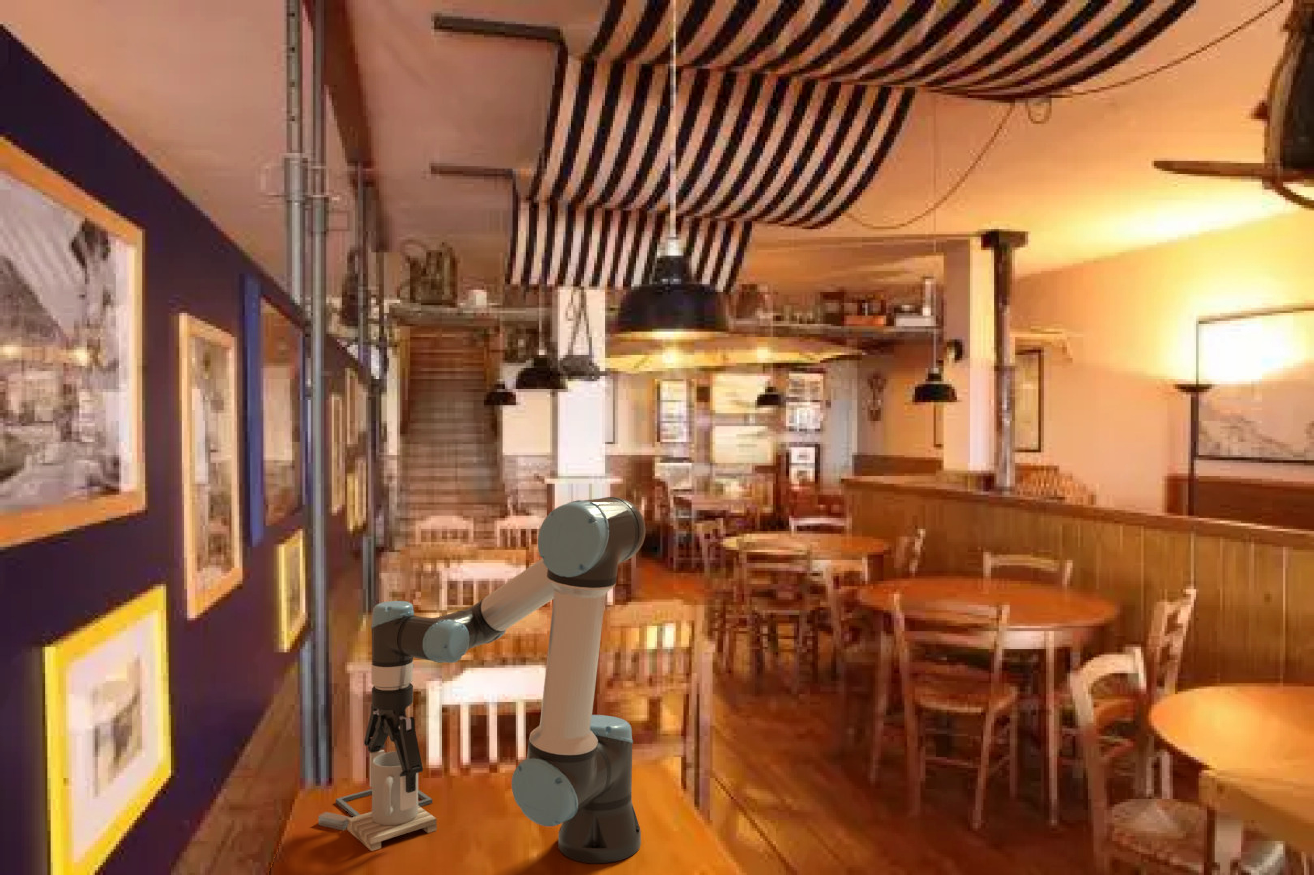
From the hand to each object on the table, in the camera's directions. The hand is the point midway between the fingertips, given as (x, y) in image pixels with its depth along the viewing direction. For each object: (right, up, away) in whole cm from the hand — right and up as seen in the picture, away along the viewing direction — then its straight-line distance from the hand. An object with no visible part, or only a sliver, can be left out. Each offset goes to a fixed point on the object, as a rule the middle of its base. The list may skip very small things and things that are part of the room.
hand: (392, 796), depth 168 cm
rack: (0, -6, 0) cm, 6 cm away
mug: (0, -4, -1) cm, 4 cm away
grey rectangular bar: (-12, -7, +2) cm, 13 cm away
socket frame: (-5, -6, +12) cm, 15 cm away
